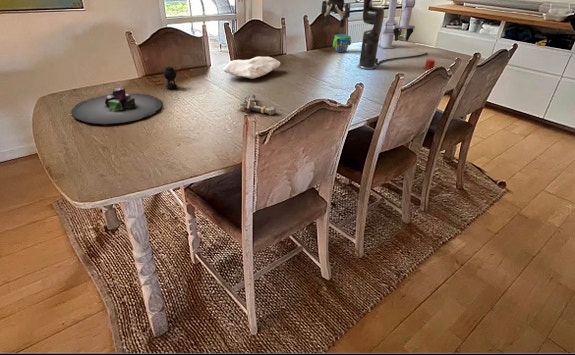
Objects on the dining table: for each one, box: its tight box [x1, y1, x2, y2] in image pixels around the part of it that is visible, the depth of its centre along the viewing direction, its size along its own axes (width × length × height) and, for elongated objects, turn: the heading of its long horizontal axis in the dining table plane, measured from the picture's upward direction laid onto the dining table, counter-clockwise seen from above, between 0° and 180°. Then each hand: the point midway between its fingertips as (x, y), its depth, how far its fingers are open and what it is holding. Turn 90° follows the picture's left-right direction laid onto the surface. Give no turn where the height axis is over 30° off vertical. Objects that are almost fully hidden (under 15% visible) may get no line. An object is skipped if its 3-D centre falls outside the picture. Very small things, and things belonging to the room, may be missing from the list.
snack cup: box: [332, 34, 352, 53], centre depth 246 cm, size 16×10×10 cm
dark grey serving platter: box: [70, 86, 163, 125], centre depth 150 cm, size 35×35×9 cm
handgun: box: [239, 93, 277, 116], centre depth 158 cm, size 3×18×15 cm
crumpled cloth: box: [222, 56, 281, 80], centre depth 195 cm, size 24×35×9 cm
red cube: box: [424, 58, 436, 70], centre depth 220 cm, size 5×5×5 cm
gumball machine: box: [161, 66, 179, 90], centre depth 173 cm, size 7×6×10 cm
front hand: (334, 26), depth 173 cm, fingers open, 8 cm apart
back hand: (401, 40), depth 240 cm, fingers open, 7 cm apart
